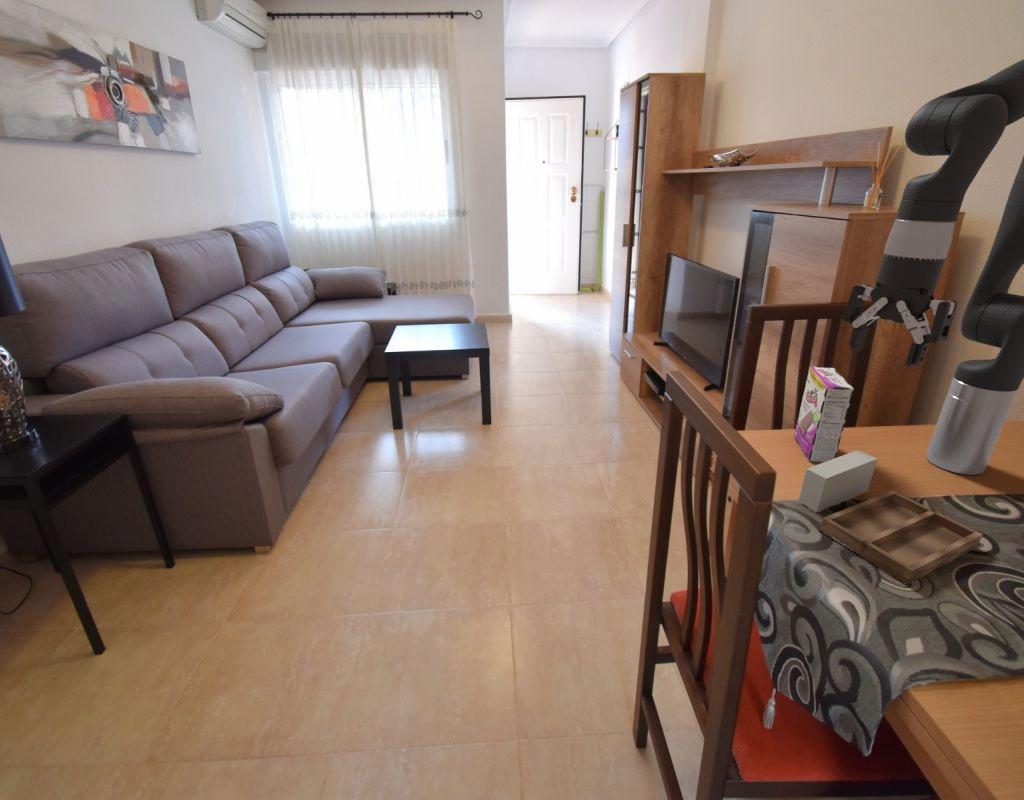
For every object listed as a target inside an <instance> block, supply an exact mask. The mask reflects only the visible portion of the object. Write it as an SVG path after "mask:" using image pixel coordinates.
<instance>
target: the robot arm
mask: <svg viewBox="0 0 1024 800" xmlns="http://www.w3.org/2000/svg"><path fill="white" fill-rule="evenodd" d="M1022 118H1024V58H1023V59H1021V60H1019V61H1017V62H1015V63H1013V64H1011V65H1008V67H1005V68H1004V69H1002V70H1000V71H999V72H997V73H995V74H993V75H991V76H989V77H988V78H986V79H985V80H982V81H979V82H976V83H974V84H970V85H967V86H964V87H961V88H958V89H955V90H952V91H950V92H947V93H944V94H942V95H939V96H936V97H935V98H933V99H931V100H929V101H928V102H926V103H925V104H923V106H921V107H920V108H919V109H917V111H916V112H915V113H914V114H913V115H912V116H911V118H910V120H909V121H908V123H907V126H906V129H905V133H904V139H905V144H906V145H905V146H906V147H907V148H908V149H909V151H911V152H912V153H914V154H915V155H919V156H925V157H936V156H937V157H938V156H941V157H943V156H948V157H947V158H946V160H945V161H944V162H943V164H942V165H941V166H940V167H939V168H938V170H936V171H934V172H931V173H927V174H922V175H918V176H914V177H913V178H911V179H910V180H909V181H907V183H906V185H905V187H904V190H903V193H902V196H901V200H900V204H899V206H898V210H897V213H896V217H895V220H894V223H893V226H892V228H891V229H890V232H889V235H888V238H887V241H886V243H885V247H884V251H883V256H882V259H881V261H880V264H879V268H878V273H877V274H876V275H877V276H876V283H875V285H874V287H871V286H870V285H868V284H867V283H866V284H858V285H854V286H853V287H852V289H851V291H850V294H849V299H848V301H847V304H846V307H845V309H844V313H843V316H842V320H843V321H844V322H847V323H849V324H850V325H852V332H851V335H850V338H849V343H848V344H849V347H850V350H851V351H853V352H859V351H862V350H863V349H864V346H865V341H866V339H867V335H868V333H869V328H868V326H869V325H871V324H872V323H873V322H874V321H876V320H877V319H881V320H886V321H887V320H888V321H889V320H890V321H893V322H894V323H898V324H905V327H906V329H907V330H908V331H909V332H910V335H911V336H912V338H913V339H912V340H914V342H912V343H911V346H910V349H909V352H908V354H907V358H906V360H905V364H904V367H905V366H906V367H908V368H914V367H918V365H919V364H922V363H923V362H924V361H925V357H926V354H927V352H928V349H929V346H930V344H937V343H941V342H946V341H947V340H948V338H949V335H950V331H951V328H952V324H953V321H954V318H955V315H956V314H955V313H956V311H957V308H958V302H957V301H956V300H955V299H951V300H942V299H941V300H939V299H935V296H934V293H935V291H936V288H937V286H938V284H939V280H940V277H941V274H942V271H943V268H944V266H945V263H946V260H947V257H948V253H949V252H950V251H949V250H950V248H951V245H952V243H953V238H954V232H955V225H956V222H957V220H958V216H959V214H960V211H961V208H962V204H963V202H964V199H965V195H966V193H967V191H968V189H969V188H970V186H971V184H972V182H973V181H974V179H975V178H976V176H977V175H978V173H979V171H980V170H981V168H982V166H983V165H984V164H985V162H986V160H987V159H988V157H989V156H990V154H991V153H992V151H993V150H994V148H995V147H996V145H997V144H998V143H999V141H1000V139H1001V138H1002V136H1003V134H1004V131H1005V130H1006V127H1007V126H1010V125H1011V124H1013V123H1016V122H1017V121H1019V120H1021V119H1022ZM993 240H994V241H993V243H992V246H991V248H990V251H989V255H988V257H987V260H986V261H985V264H984V266H983V268H982V270H981V273H980V274H979V277H978V278H977V281H976V284H975V286H974V288H973V290H972V292H971V294H970V297H969V299H968V301H967V304H966V306H965V309H964V311H963V314H962V318H961V322H960V332H961V335H962V336H963V337H964V339H966V340H969V341H972V342H975V343H980V344H983V345H987V346H990V347H996V348H999V349H1000V350H999V353H998V354H997V355H996V357H995V358H991V359H968V360H963V361H961V362H960V363H958V365H957V367H956V369H955V372H954V375H953V378H952V380H951V383H950V385H949V388H948V392H947V395H946V397H945V401H943V402H944V403H943V406H942V409H941V411H940V415H939V417H938V419H937V423H936V425H935V428H934V431H933V434H932V437H931V439H930V442H929V444H928V447H927V451H926V454H925V458H926V459H927V461H928V462H930V463H931V464H933V465H934V466H936V467H939V468H940V469H943V470H946V471H949V472H952V473H957V474H960V475H969V476H970V475H971V476H973V475H975V476H976V475H977V476H978V475H981V474H983V473H985V470H986V468H987V465H988V463H989V462H990V459H991V456H992V454H993V451H994V448H995V447H996V444H997V441H998V439H999V436H1000V434H1001V432H1002V430H1003V427H1004V425H1005V422H1006V419H1007V417H1008V415H1009V413H1010V410H1011V408H1012V405H1013V403H1014V400H1015V398H1016V395H1017V394H1018V391H1019V389H1020V386H1021V384H1022V381H1023V380H1024V295H1019V294H1014V293H1009V290H1010V288H1011V284H1012V282H1013V281H1014V278H1015V277H1016V275H1017V273H1018V272H1019V271H1020V269H1021V268H1022V266H1023V265H1024V155H1023V157H1022V158H1021V162H1020V164H1019V167H1018V169H1017V172H1016V175H1015V177H1014V180H1013V183H1012V186H1011V189H1010V192H1009V194H1008V197H1007V200H1006V203H1005V207H1004V209H1003V214H1002V217H1001V221H1000V223H999V226H998V229H997V232H996V234H995V238H994V239H993ZM869 298H870V299H871V302H872V305H871V306H870V307H869V308H867V309H866V310H865V311H863V308H864V305H865V301H866V300H868V299H869ZM930 308H931V309H932V314H933V315H934V318H933V322H932V326H931V330H930V327H929V325H930V323H929V320H928V317H927V315H926V312H927V311H928V310H929V309H930ZM862 311H863V312H862Z"/></svg>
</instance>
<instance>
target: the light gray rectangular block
mask: <svg viewBox="0 0 1024 800" xmlns="http://www.w3.org/2000/svg"><path fill="white" fill-rule="evenodd" d="M877 462H878V458H877V457H875V456H873V455H870V454H868V453H865V452H864V451H861V450H860V449H859V450H858V449H857V450H855V451H852V452H849V453H846V454H843V455H841V456H836V457H835V459H832V460H829V461H826V462H824V463H819V464H818V463H817V464H815V465H812V466H811V467H808V468H806V471H805V473H804V478H803V481H802V486H801V490H800V494H799V497H798V500H797V501H798V502H799V503H798V502H797V503H798V504H800V503H802V504H804V505H806V506H807V507H810V508H811V509H813V510H815V511H819V510H822V509H825V508H827V509H829V508H828V507H830V506H832V507H834V506H833V505H835V504H837V505H839V504H841V502H842V503H844V502H846V501H849V500H851V499H854V498H856V497H857V496H860V495H863V494H865V493H868V490H869V488H870V484H871V481H872V477H873V475H874V472H875V468H876V465H877ZM843 501H844V502H843ZM838 503H839V504H838ZM802 504H801V505H802ZM835 506H836V505H835ZM807 507H806V508H807ZM830 508H831V507H830ZM825 510H826V509H825Z"/></svg>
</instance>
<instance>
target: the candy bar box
mask: <svg viewBox="0 0 1024 800" xmlns="http://www.w3.org/2000/svg"><path fill="white" fill-rule="evenodd" d="M805 381H806V382H805V387H804V390H803V395H802V400H801V404H800V407H799V408H800V409H799V412H798V417H797V422H796V427H795V431H794V434H793V438H795V439H794V440H796V442H797V443H798V445H799V447H800V448H801V450H802V452H803V454H804V455H805V457H806V459H807V460H808V462H810V463H811V462H812V463H819V464H821V463H824V462H826V461H829V460H832V459H835V458H837V454H838V451H839V450H838V449H839V445H840V442H841V439H842V434H843V432H844V427H845V424H846V420H847V417H848V412H849V409H850V405H851V401H852V398H853V393H854V390H855V388H854V387H853V386H852V385H851V384H850V382H848V381H847V380H846V379H845V378H844V377H843V375H841V373H839V372H838V370H836V369H835V367H825V366H819V367H818V366H809V367H808V373H807V376H806V380H805Z"/></svg>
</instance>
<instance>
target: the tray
mask: <svg viewBox="0 0 1024 800" xmlns="http://www.w3.org/2000/svg"><path fill="white" fill-rule="evenodd" d="M820 529H822V530H823V531H825V532H826V533H827V534H829V535H831V536H832V537H834V538H835V539H837V540H838V541H840V542H841V543H843V544H845V545H846V546H847V547H849V548H850V549H852V550H853V551H855V552H856V553H857V554H859V555H860V556H859V555H858V556H859V557H861V556H862V557H863V558H862V557H861V558H862V559H864V558H865V559H864V560H866V559H867V560H868V561H867V560H866V561H867V562H869V561H870V562H871V564H872V563H873V564H872V565H874V564H875V565H876V566H875V565H874V566H875V567H877V566H878V567H877V568H878V569H879V570H882V571H883V570H884V572H885V573H887V574H888V575H889V576H891V575H892V577H893V576H894V577H893V578H895V577H896V578H898V579H899V580H898V579H897V580H898V581H900V580H901V581H903V582H904V583H906V584H908V585H909V583H910V584H911V582H912V581H913V582H915V581H917V580H919V579H921V578H923V577H925V576H927V575H928V574H931V573H932V572H934V571H936V570H938V569H939V568H941V567H944V566H945V565H948V564H949V563H951V562H953V561H955V560H956V558H957V559H959V558H960V557H962V556H964V555H966V554H967V553H966V552H968V553H970V552H971V551H970V550H972V549H973V550H975V549H976V548H975V547H977V546H979V545H980V543H981V540H982V538H983V533H981V532H980V531H978V530H975V529H973V528H971V527H969V526H967V525H965V524H963V523H960V522H959V521H956V520H955V519H952V518H951V517H948V516H946V515H944V514H942V513H940V512H938V511H936V510H934V509H932V508H930V507H928V506H926V505H924V504H921V503H920V502H917V501H915V499H912V498H909V497H907V496H906V495H903V494H901V493H899V492H897V491H895V490H893V489H891V490H889V491H885V492H884V493H881V494H879V495H877V496H874V497H871V498H869V499H866V500H865V501H862V502H860V503H856V504H854V505H851V506H850V507H847V508H844V509H842V510H839V511H837V512H835V513H832V514H830V515H828V516H824V517H823V518H822V521H821V522H820V526H819V530H820ZM974 548H975V549H974ZM977 548H978V547H977ZM973 550H972V551H973ZM853 551H852V552H853ZM969 551H970V552H969ZM856 553H855V554H856ZM965 553H966V554H965ZM857 554H856V555H857ZM963 554H964V555H963ZM961 555H962V556H961ZM959 556H960V557H959ZM954 559H955V560H954ZM870 562H869V563H870ZM896 578H895V579H896ZM914 580H915V581H914ZM901 581H900V582H901ZM903 582H902V583H903ZM913 582H912V583H913ZM904 583H903V584H904ZM906 584H905V585H906Z"/></svg>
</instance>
